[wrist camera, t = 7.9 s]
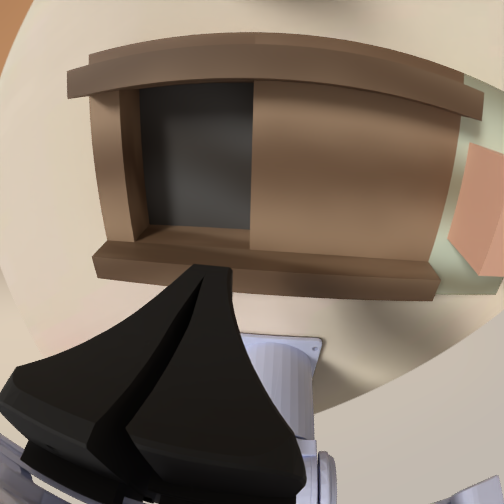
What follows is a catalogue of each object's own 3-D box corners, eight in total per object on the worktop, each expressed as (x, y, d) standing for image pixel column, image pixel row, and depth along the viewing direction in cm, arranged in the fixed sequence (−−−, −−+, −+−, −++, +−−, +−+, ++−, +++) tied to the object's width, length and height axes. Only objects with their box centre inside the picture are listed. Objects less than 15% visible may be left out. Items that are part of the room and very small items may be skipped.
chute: (479, 273, 19) (507, 310, 15) (132, 251, 21) (101, 291, 17) (519, 109, 12) (565, 122, 8) (115, 57, 14) (67, 53, 10)
